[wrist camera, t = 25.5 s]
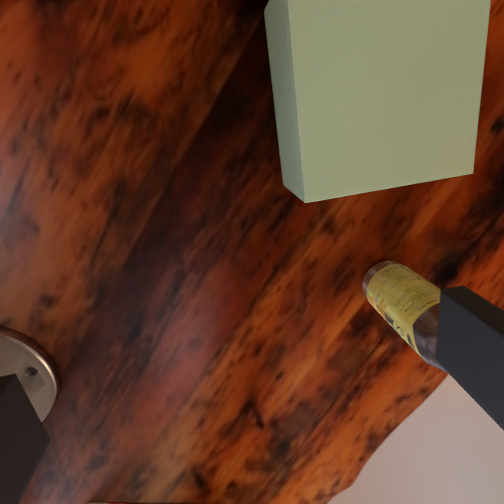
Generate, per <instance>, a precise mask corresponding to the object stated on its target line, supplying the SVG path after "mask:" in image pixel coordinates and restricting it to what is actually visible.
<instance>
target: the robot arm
mask: <svg viewBox="0 0 504 504" xmlns="http://www.w3.org/2000/svg"><path fill="white" fill-rule="evenodd" d="M435 360H436V361H437V362H438V363H439V364H440V365H441V366H442V367H443V368H444V369H445V370H446V371H447V372H448V373H449V374H450V375H451V376H452V377H453V378H454V379H455V380H456V381H457V382H458V384H459V385H460V386H461V387H462V388H463V389H464V390H465V391H466V392H467V393H468V394H469V395H470V396H471V397H472V398H473V399H474V400H475V401H476V402H477V403H478V404H479V405H480V406H481V407H482V408H483V409H484V410H485V412H486V413H487V414H488V415H489V416H490V417H491V418H492V419H493V420H494V421H495V422H496V423H497V424H498V425H499V426H500V427H501V428H502V429H503V430H504V311H503V310H501V309H500V308H498V307H497V306H495V305H493V304H492V303H490V302H489V301H487V300H486V299H484V298H482V297H481V296H479V295H478V294H476V293H474V292H473V291H471V290H470V289H468V288H467V287H465V286H458V287H453V288H448V289H443V290H441V291H440V304H439V317H438V330H437V343H436V356H435ZM60 387H61V380H60V374H59V371H58V368H57V366H56V364H55V362H54V361H53V359H52V358H51V356H50V355H49V354H48V353H47V352H46V351H45V349H43V348H42V347H41V346H40V345H39V344H37V343H36V342H35V341H33V340H32V339H30V338H28V337H27V336H25V335H23V334H20V333H18V332H16V331H13V330H10V329H7V328H3V327H0V504H19V502H20V500H21V498H22V496H23V494H24V492H25V490H26V488H27V486H28V484H29V482H30V480H31V478H32V476H33V474H34V472H35V470H36V468H37V466H38V464H39V462H40V460H41V458H42V456H43V454H44V452H45V450H46V448H47V446H48V444H49V442H50V440H51V439H50V438H49V436H48V434H47V432H46V430H45V428H44V426H43V424H42V421H43V420H44V419H45V417H46V416H47V415H48V414H49V412H50V411H51V409H52V407H53V405H54V404H55V402H56V400H57V398H58V395H59V392H60Z"/></svg>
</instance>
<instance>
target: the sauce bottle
mask: <svg viewBox="0 0 504 504" xmlns="http://www.w3.org/2000/svg"><path fill="white" fill-rule="evenodd" d="M362 289H363V293H364V294H365V296H366V298H367V299H368V301H369V303H370V304H371V305H372V306H373V307H374V308H375V309H376V310H377V311H378V312H379V313H380V314H381V315H382V317H383V318H384V319H385V320H386V321H387V322H388V323H389V324H390V325H391V326H392V327H393V328H394V329H395V330H396V331H397V332H398V334H399V335H400V336H401V337H402V338H403V339H404V340H405V341H406V342H407V343H408V344H409V345H410V346H411V347H412V348H413V349H414V350H415V351H416V352H417V354H419V355H420V356H421V357H422V358H423V359H424V360H425V361H426V362H427V363H429V364H431V365H433V366H435V367H437V368H439V369H441V370H443V371H445V372H447V371H446V370H445V369H444V368H443V367H442V366H441V365H440V364H439V363H438V362H437V361H436V360H435V356H436V343H437V330H438V317H439V304H440V291H441V290H440V289H439V288H437V287H436V286H435V285H433V284H432V283H430V282H429V281H427V280H426V279H424V278H423V277H421V276H420V275H419V274H417V273H416V272H414V271H413V270H411V269H410V268H408V267H407V266H404V265H402V264H400V263H399V262H397V261H392V260H389V261H388V260H387V261H383V262H379V263H377V264H376V265H374V266H372V267H371V268H370V269H369V270H368V271H367V273H366V275H365V276H364V279H363V282H362ZM447 373H448V372H447Z"/></svg>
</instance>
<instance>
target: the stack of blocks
mask: <svg viewBox="0 0 504 504" xmlns="http://www.w3.org/2000/svg"><path fill="white" fill-rule="evenodd" d="M88 504H128V503H99V502H89V503H88Z"/></svg>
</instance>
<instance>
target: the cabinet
mask: <svg viewBox="0 0 504 504" xmlns="http://www.w3.org/2000/svg"><path fill="white" fill-rule="evenodd" d="M490 3H491V0H269V2H268V4H267V6H266V8H265V10H264V16H265V25H266V34H267V43H268V52H269V61H270V70H271V79H272V88H273V97H274V106H275V115H276V124H277V133H278V142H279V151H280V160H281V170H282V179H283V185H284V186H285V187H286V188H288V189H289V190H290V191H291V192H293V193H294V194H295V195H296V196H298V197H299V198H300V199H301V200H303V201H304V202H305V203H308V202H313V201H319V200H325V199H330V198H336V197H342V196H348V195H353V194H359V193H365V192H370V191H376V190H382V189H388V188H393V187H399V186H405V185H410V184H416V183H422V182H427V181H433V180H439V179H445V178H450V177H456V176H462V175H467V174H472V173H473V168H474V158H475V148H476V139H477V129H478V119H479V110H480V100H481V90H482V80H483V71H484V61H485V51H486V42H487V32H488V22H489V13H490Z"/></svg>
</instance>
